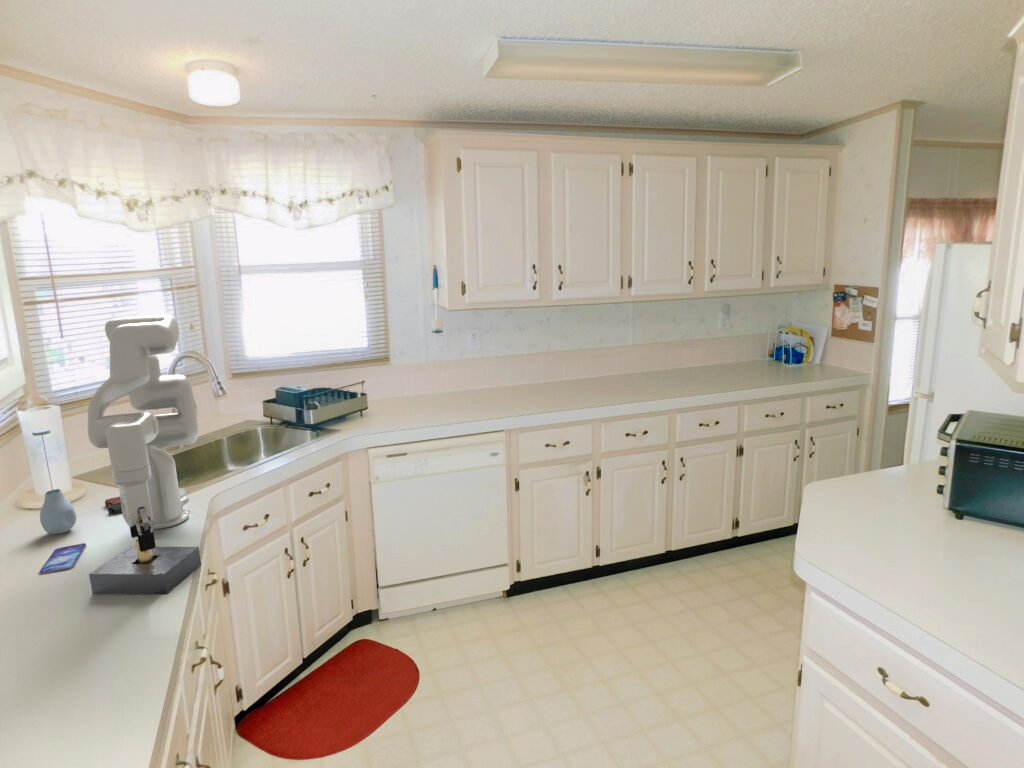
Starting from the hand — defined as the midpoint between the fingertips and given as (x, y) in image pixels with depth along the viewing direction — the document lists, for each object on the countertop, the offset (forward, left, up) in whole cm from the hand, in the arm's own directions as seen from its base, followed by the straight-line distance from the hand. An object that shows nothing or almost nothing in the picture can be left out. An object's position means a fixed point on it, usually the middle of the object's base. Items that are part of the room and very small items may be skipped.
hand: (143, 542), depth 152 cm
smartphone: (-10, -30, -10) cm, 33 cm away
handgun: (-47, -36, -10) cm, 60 cm away
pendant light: (-26, -44, -9) cm, 52 cm away
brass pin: (0, 0, -9) cm, 9 cm away
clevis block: (0, 0, -9) cm, 9 cm away
